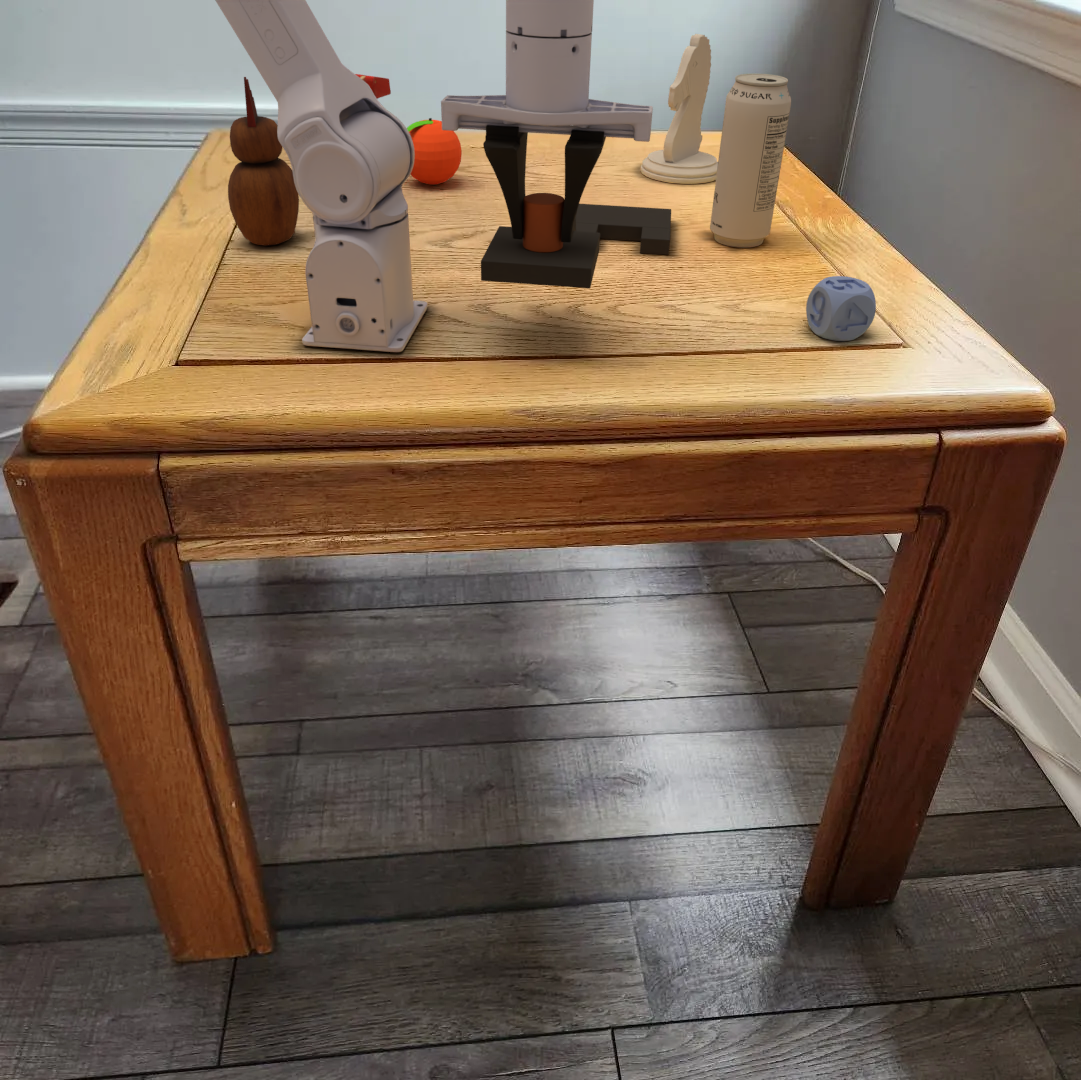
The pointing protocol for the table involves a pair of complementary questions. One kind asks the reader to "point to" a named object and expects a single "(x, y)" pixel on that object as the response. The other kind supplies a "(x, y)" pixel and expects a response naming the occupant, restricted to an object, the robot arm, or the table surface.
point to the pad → (541, 264)
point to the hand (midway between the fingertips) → (543, 236)
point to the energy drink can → (750, 159)
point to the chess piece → (686, 123)
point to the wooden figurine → (261, 180)
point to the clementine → (434, 152)
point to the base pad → (628, 225)
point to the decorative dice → (840, 308)
